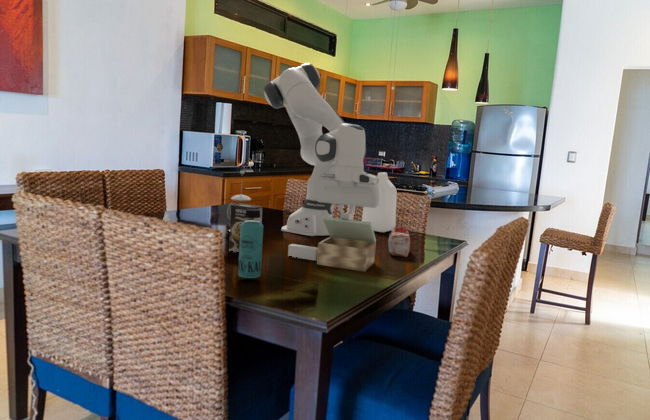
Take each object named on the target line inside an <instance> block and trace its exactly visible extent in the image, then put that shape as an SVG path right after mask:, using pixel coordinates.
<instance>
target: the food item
mask: <svg viewBox="0 0 650 420" xmlns="http://www.w3.org/2000/svg"><path fill="white" fill-rule="evenodd" d="M390 231H391V232H390V234H389V236H388V243H387V244H388V245H387V246H388V252H389V253H390V255H391V256H395V257H401V258H408V256H409V253H410V248H411V237H410V233H409V231H408V229H407V228H405V227H403V226H400V227H396V226H395V227H394V229H392V230H390Z"/></svg>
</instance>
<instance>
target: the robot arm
mask: <svg viewBox="0 0 650 420" xmlns="http://www.w3.org/2000/svg"><path fill="white" fill-rule="evenodd" d="M320 85H321V76H320V72H319V71H318V69H317V68H316V67H315V66H314V65H313V64H312V63H311V62H305V63H302V64H300V65H299V66H296V67H290V68H287V69H285V70H283V71H282V72H281V74H280V75H278V76H277V77H275V78H274V79H273V80H270V81H268V82H267V83H266V84H265V85H264V86H263V95H264V99H265V100H266V102H267V103H268V104H269V105H270V106H271V107H272V108H273V109H281V108H284V107H285V110H286V112H287V114H288V116H289V118H290V121H291V123H292V124H293V126H294V128H295V129H294V130H296V133H297V135H298V139H299V142H300V157H301V158H302V160H303V161H304V162H306V163H307V164H309V165H311V166H313V167H314V168H313V170H312V173H311V176H310V177H309V178H308V179H307V185H306V186H307V188H306V198H304V199H302V200H301V201H300V204H302V205H301V207H300V208H299V209H297V210H296V211H294V212H292V213H291V214H290V215H289V216H288V219H287V221H286V225H284V226H282V227H281V229H280V231H281V232H286V233H293V234H297V235H298V234H299V235H301V236H302V235H303V236H308V237H309V236H310V237H315V236H316V237H317V236H330V235H329V232H328V230H327V228H326V226H325V223H324V221H323V216H324V217H332V218H333V213H334V207H335V206H334V205H337V208H338V211H339V212H340V218H341V219H347V220H352V214H353V212H354V211H355V210H356V207H360V208H361V207H362V208H363V207H370V208H376V207H377V206H378V205H379V188H378V186H377V185H376V184H374V183H377V179H378V178H377V176H376V175H374V174H371V173H369V172H366V171H365V170H364V169H365V167H364V166H365V165H364V164H365V163H364V159H365V157H366V154H367V146H366V131H365V128H364V127H362V125H358V124H355V123H354V124H353V123H349V122H345V120H344V119H343V117H342V116H340V114H339V113H338V111H337V110H336V109H334V107H333V106H331V105H330V104H329V103H328V101H326V100H325V99H324V97H322V95H321V94H320V93H319V91H318V90H317V89H318V88H319V87H320ZM323 127H324V128H326V129H327V130H328V132H327V133H323ZM345 206H348V209H349V211H348V212H346V213H345V211H344V209H343V208H345Z"/></svg>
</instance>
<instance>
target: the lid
mask: <svg viewBox="0 0 650 420" xmlns="http://www.w3.org/2000/svg"><path fill="white" fill-rule="evenodd" d="M323 221H324V223H325V226H326V228H327V230H328V232H329V235H328V236H329V237H336V238H344V239H351V240H359V241H366V242H374V243H376V242H377V238H376V235H375V231H373V227H372V224H371V222H365V221H362V220H357V219H356V220H355V219H350V220H347V219H341V217H340V218H339V217H333V216H332V217H324V216H323ZM376 244H377V243H376Z"/></svg>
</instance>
